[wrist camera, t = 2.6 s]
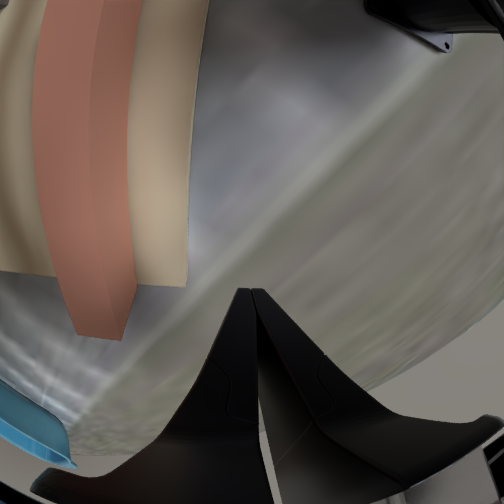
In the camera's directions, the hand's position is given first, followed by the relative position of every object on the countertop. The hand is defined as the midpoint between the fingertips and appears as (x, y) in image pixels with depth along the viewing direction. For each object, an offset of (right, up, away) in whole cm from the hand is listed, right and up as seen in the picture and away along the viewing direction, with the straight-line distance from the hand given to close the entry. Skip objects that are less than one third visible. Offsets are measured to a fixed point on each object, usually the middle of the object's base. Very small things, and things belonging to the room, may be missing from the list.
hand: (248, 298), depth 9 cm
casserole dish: (-43, -21, +16) cm, 51 cm away
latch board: (-13, +9, +1) cm, 16 cm away
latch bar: (-6, +7, +1) cm, 10 cm away
